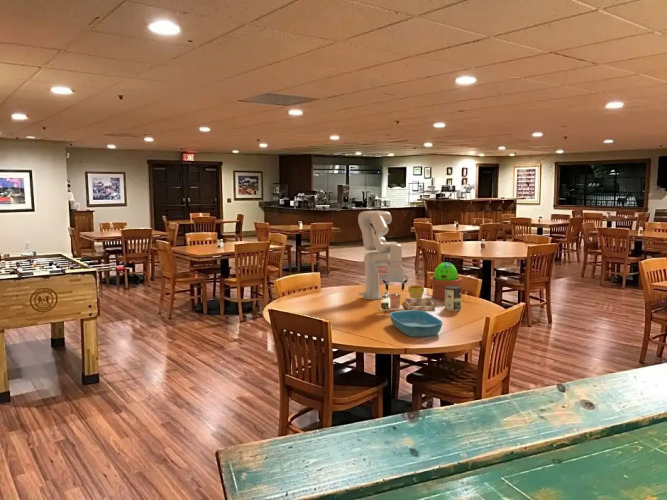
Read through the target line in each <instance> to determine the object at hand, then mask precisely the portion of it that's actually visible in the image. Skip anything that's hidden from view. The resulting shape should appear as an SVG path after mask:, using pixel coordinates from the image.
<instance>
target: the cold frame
mask: <svg viewBox="0 0 667 500" xmlns="http://www.w3.org/2000/svg"><path fill="white" fill-rule="evenodd" d="M404 304H405V305H404V307H405V308H406V309H407V310H420V311H435V310H436V304H435V303H434V302H433V301H432V297H422V298H410V297H409V298H405V299H404Z"/></svg>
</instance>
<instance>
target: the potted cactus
mask: <svg viewBox="0 0 667 500" xmlns="http://www.w3.org/2000/svg"><path fill="white" fill-rule="evenodd" d="M428 280H429V281H428V282H429V285H432V298H433V299H436V300H441V301H445V286H450V285H454V286H461V285H463V278H462V277H461V276H459V274H458V270H457V268H456V267H455V265H454V264H453V263H451V262H446V261H445V262H440V263H439V264H438V265H437V266H436V267H435V269H434V271H433V275H432V276H430V277H429V279H428Z"/></svg>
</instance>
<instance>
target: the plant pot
mask: <svg viewBox="0 0 667 500" xmlns="http://www.w3.org/2000/svg"><path fill="white" fill-rule="evenodd" d="M407 292H408V294H409V298H423V293H424V292H425V287H424V286H422V285H409V286H408V288H407Z"/></svg>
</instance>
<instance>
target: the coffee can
mask: <svg viewBox="0 0 667 500" xmlns="http://www.w3.org/2000/svg"><path fill="white" fill-rule="evenodd" d="M462 289H463V288H462V286H461V285H459V286H454V285H450V286H445V300H444V310H447V311H449V312H452V311H453V312H457V311H458V310H459V311H461V310H462Z"/></svg>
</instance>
